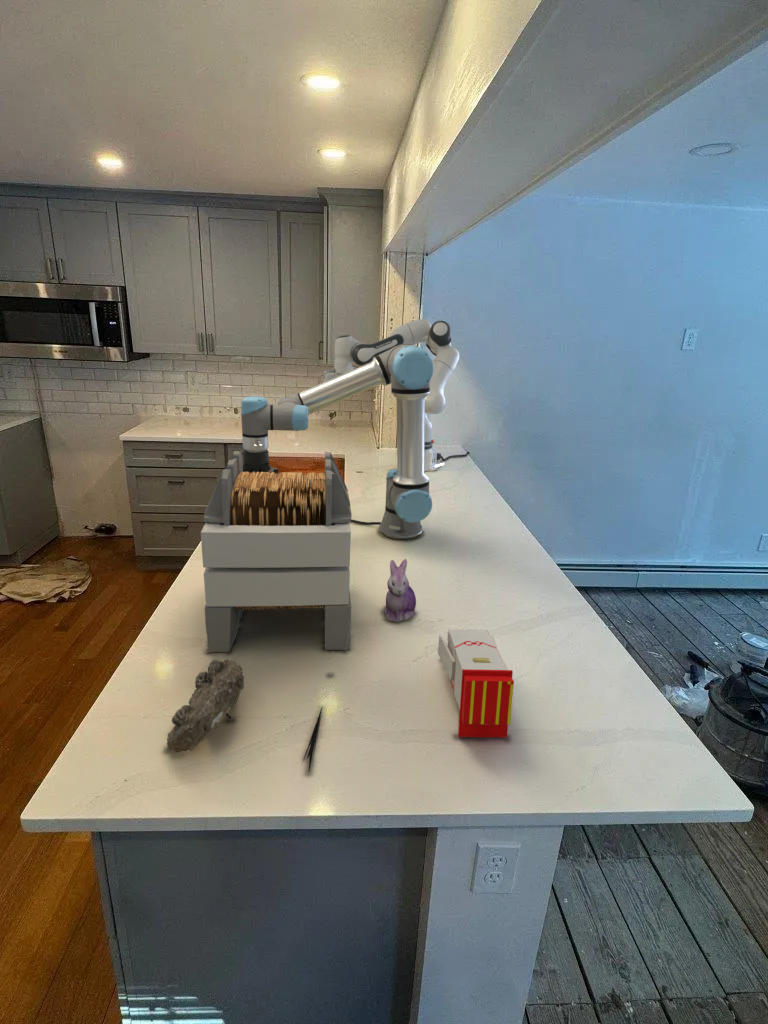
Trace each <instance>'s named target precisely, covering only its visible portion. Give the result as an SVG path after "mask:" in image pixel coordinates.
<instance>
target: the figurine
mask: <svg viewBox="0 0 768 1024" xmlns="http://www.w3.org/2000/svg"><path fill="white" fill-rule="evenodd" d="M407 567H408V559H406V558H404V559H403V560H402V561H401V563H400V565H399V566H398V565H397V563H396V562H395V561H394V560H393V559H391V560H390V561H389V570H390V576H389V578H388V579H387V589H388V591H387V592H386V594H385V595H386V596H385V607H384V615H385V616H386V620H387V621H391V622H395V623H400V622H402V621H406V620H409V619H410V618H411V617H413V616H414V615H415V610H416V606H417V597H416V593H415V591H414V590H413V587H411V586H410V582H409V579H408V577H407V574H406V571H407Z"/></svg>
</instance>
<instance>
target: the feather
mask: <svg viewBox="0 0 768 1024" xmlns="http://www.w3.org/2000/svg"><path fill="white" fill-rule="evenodd" d="M329 675H330V676H331V675H332V674H331V673H330V674H329ZM322 710H323V707H321V708H320V710H319V713H318V716H317V719H316V723H315V725H314V728H313V731H312V733H311V737H310V739H309V742H308V745H307V748H306V751H305V754H304V757H303V760H302V763H301V767H302V765H303V763H304V761H305V758H308V759H309V760H308V762H307V763H308V764H307V766H308V771H310V770H311V766H312V765H311V764H312V760H313V757H315V756H314V755H315V751H316V749H315V746H317V739H318V733H319V729H320V722H321V717H322V712H323V711H322ZM313 754H314V755H313ZM306 755H307V757H306Z"/></svg>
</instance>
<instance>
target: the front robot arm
mask: <svg viewBox="0 0 768 1024" xmlns="http://www.w3.org/2000/svg"><path fill="white" fill-rule="evenodd" d="M433 371H434V366H433V359H432V357H431V355H430V354H429V353H428V352H427V351H426V349H424V348H422V347H420V346H417V345H410V344H401V345H397V346H395V347H393V348H392V349H390V350H388V351H386V352H384V353H382V354H380V355H378V356H375V357H373V360H372V361H371V362H370V363H367V364H365V365H363V366H360V365H359V367H356V369H353V370H351V371H349V372H346V373H344V374H342V375H339V376H337V377H335V378H332V379H330V380H328V381H325V382H323V381H322V382H321V383H319V384H316V385H314V386H311V387H309V388H307V389H304V390H303V391H300V392H298V393H295V394H293V395H291V396H290V395H289V396H287V395H286V396H284V397H282V398H281V399H280V400H279V401H278V403H277V404H269V403H268V399H267V398H266V397H263V396H246V397H244V398H242V400H241V401H240V402H241V403H240V405H241V406H240V409H241V410H240V418H241V435H242V436H241V437H242V440H241V441H242V449H243V451H242V466H243V472H250V473H251V472H255V473H257V472H259V473H261V472H269V473H270V472H275V474H276V472H277V474H278V473H280V471H279V469H278V468H277V467H273V466H271V465H270V458H269V457H270V455H269V453H270V452H269V450H268V449H269V431H291V432H292V431H294V432H299V431H307V430H308V428H309V415H311V414H314V413H316V412H320V411H321V410H323V409H325V408H328V407H330V406H332V405H335V404H338V403H340V402H342V401H345V400H347V399H350V398H353V397H354V396H356V395H358V394H361V393H363V392H365V391H368V390H372V389H374V388H375V387H377V386H380V385H382V386H385V387H387V386H388V385H390V386H391V387H390V389H391V392H390V393H391V394H392V395H393V396H394V397H395V400H396V463H397V464H396V466H397V467H396V468H392V469H389V470H388V471H386V472H387V473H386V478H385V481H386V482H385V483H386V485H385V504H384V505H385V507H384V508H385V509H384V513H383V515H382V519H381V521H360V520H357V519H351V521H350V522H349V523H353V524H358V525H365V526H378V533H379V534H380V535H381V536H382V537H385V538H387V539H389V540H395V541H410V540H415V539H418V538H420V537H421V536H422V535H423V525H422V524H421V521H424V520H425V519H426V518H428V516H429V515H430V514H431V512H432V509H433V500H432V496H431V495H430V477H429V476H428V475H427V474H426V473H425V471H424V446H425V397H426V396H427V395H428V394H429V393H430V380H431V378H432V376H433ZM352 396H353V397H352Z"/></svg>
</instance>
